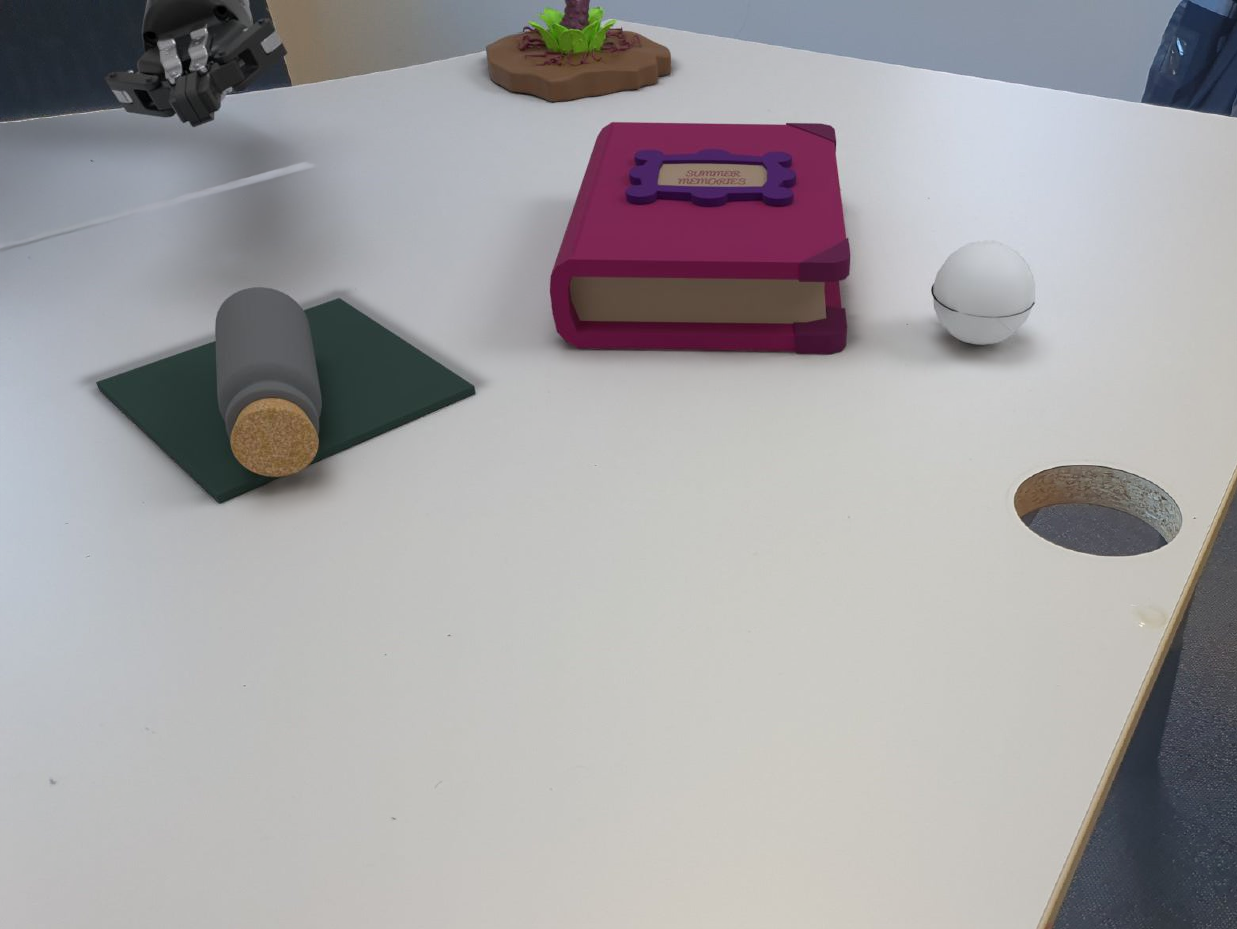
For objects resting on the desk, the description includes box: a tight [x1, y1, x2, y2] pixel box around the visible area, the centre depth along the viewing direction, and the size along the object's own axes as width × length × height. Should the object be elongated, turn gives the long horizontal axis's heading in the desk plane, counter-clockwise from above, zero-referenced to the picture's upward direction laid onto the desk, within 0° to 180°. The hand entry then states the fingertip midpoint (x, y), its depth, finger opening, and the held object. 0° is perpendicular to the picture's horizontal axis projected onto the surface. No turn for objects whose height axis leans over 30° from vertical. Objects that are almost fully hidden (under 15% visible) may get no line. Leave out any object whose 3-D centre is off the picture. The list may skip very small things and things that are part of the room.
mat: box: [95, 297, 477, 504], centre depth 76 cm, size 18×18×1 cm
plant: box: [485, 0, 672, 103], centre depth 127 cm, size 20×20×11 cm
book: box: [549, 121, 852, 355], centre depth 89 cm, size 21×28×8 cm
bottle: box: [214, 286, 322, 478], centre depth 70 cm, size 6×6×15 cm
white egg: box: [930, 240, 1036, 346], centre depth 80 cm, size 10×7×7 cm
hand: (193, 110), depth 75 cm, fingers closed
